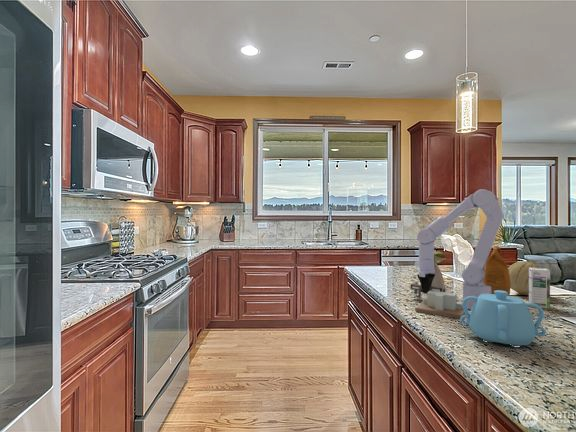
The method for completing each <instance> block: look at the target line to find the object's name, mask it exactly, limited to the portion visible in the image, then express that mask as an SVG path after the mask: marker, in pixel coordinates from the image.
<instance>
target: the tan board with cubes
mask: <svg viewBox="0 0 576 432" xmlns="http://www.w3.org/2000/svg"><path fill="white" fill-rule="evenodd" d="M426 294H427V296H426V297H425V296H424V298H423V300H422V301H421V302H420V303H419V304H418V305H416V306H415V307H414V312H419V313H425V314H429V315H437V316H441V317H448V318H449V317H450V318H453V317H454V318H455V319H459V318H461V316H463V315H464V314H465V312H464V309H463V306H462V302H461V301H460V302H458V301H457V293H453V292H451V293H446V292H438V291H431V290H430V291H429V292H427V293H426Z"/></svg>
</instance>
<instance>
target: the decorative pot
mask: <svg viewBox="0 0 576 432" xmlns="http://www.w3.org/2000/svg"><path fill="white" fill-rule="evenodd" d="M494 293H495V294H481V295H479V297H478V298H477V297H475V296H468V297H466V298H464V299H463V298H462V302H461V303H462V306H463V309H464V312H465V315H463V316H461V318H460V319H459V320H460V322H461V323H462V324H463V325H465V326H469V328H470V330H471V331H472V333H473V334H474V335H475V336H476V337H478V338H479V339H481V340H482V339H483V340H484V341H487V342H486V343H488V342H492V343H493V342H494V343H499V344H503V345H509V344H511V345H513V346H521V347H522V346H528V345H530V344H531V343H532V342H533V341H534V339H535V337H544V336H545V335H546V334H547V333H546V332H547V330H546V329H545V327H543V326H540V325H541V323H542V321H543V320H544V315H545V312H544V308H541V307H540V306H539V305H537V304H534V303H529V302H525V301H524V300H523V299H522V298H520V297H517V296H512V295H510V296H507V295H508V292H506V291H501V290H496V291H494ZM467 300H476V302H475V303H474V305H473V307H472V310H471V309H470V312H469V309H467V306H466V301H467ZM529 307H532V308H534V309H536V310H537V311H538V316H537V319H536V321H534V319H533V316H532V313H531V311H530V309H529ZM465 319H466V320H465ZM538 330H541V332H539V331H538ZM484 341H483V342H484Z"/></svg>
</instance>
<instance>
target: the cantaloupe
mask: <svg viewBox="0 0 576 432" xmlns="http://www.w3.org/2000/svg"><path fill="white" fill-rule="evenodd" d="M529 267H531V268H542V267H541V266H539V265H538V264H536V263H534V260H531V261H526V260H525V261H523V260H520V261H517V262H515V263H512V264H511V265H510V266H508V269H509V275H510V283H511V288H510V290H512V291H514V292H516V293H517V294H519V295H522V296H529Z"/></svg>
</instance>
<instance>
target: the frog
mask: <svg viewBox="0 0 576 432" xmlns="http://www.w3.org/2000/svg"><path fill="white" fill-rule="evenodd" d="M446 259H447V258H446V254H445V253H443V252H441V251H436V250H434V270H435V272H434V273H431V274H435V277H434V279H433V281H432V285H431V286H433V287H441V286H445V280H444V276H443V273H442V271H441V269H440V268H439V266H438V263H441V262H443V261H444V260H446ZM445 292H446V293H453V291H452V289H451V288H447V287H445Z"/></svg>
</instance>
